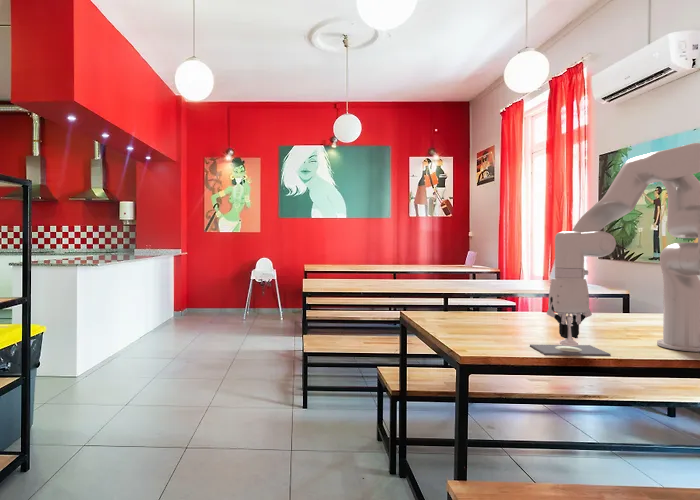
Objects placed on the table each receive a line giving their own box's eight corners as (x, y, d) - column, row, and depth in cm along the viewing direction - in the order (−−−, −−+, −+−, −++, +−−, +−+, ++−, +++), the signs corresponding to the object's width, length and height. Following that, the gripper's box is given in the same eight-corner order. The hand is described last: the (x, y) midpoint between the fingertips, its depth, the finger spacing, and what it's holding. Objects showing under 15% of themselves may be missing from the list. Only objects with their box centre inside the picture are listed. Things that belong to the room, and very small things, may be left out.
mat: (589, 346, 132) (589, 344, 132) (610, 355, 121) (610, 353, 121) (529, 346, 133) (529, 344, 133) (544, 354, 122) (544, 352, 122)
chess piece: (580, 346, 124) (580, 311, 124) (562, 345, 125) (562, 310, 125) (575, 342, 129) (575, 309, 129) (557, 342, 130) (557, 308, 130)
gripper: (590, 273, 130) (590, 335, 130) (536, 273, 131) (536, 334, 131) (604, 275, 123) (604, 340, 123) (546, 274, 123) (546, 340, 123)
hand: (569, 336), depth 127 cm, fingers closed
